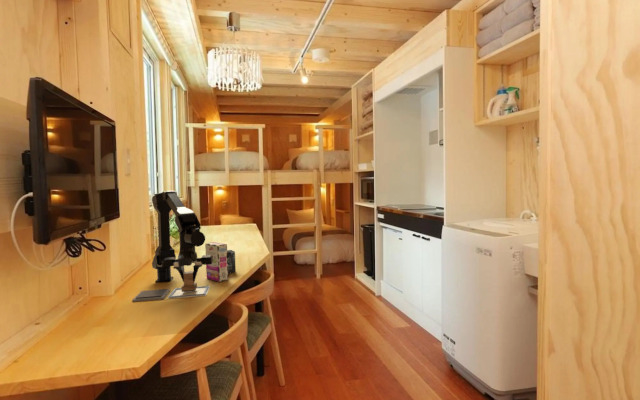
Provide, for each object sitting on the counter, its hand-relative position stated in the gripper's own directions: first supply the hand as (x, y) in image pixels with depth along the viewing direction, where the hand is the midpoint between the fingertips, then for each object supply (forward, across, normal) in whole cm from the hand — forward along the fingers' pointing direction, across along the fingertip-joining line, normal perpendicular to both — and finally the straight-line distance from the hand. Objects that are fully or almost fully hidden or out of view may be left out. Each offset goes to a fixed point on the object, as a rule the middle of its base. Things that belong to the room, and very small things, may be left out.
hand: (189, 282), depth 146 cm
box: (+4, +12, +29) cm, 32 cm away
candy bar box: (+4, +9, +18) cm, 21 cm away
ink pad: (+4, -14, -1) cm, 15 cm away
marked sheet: (+4, 0, 0) cm, 4 cm away
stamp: (+3, 0, 0) cm, 3 cm away
